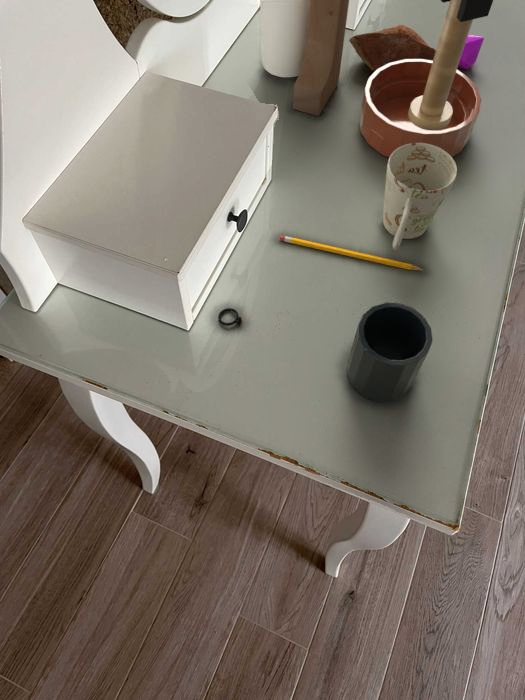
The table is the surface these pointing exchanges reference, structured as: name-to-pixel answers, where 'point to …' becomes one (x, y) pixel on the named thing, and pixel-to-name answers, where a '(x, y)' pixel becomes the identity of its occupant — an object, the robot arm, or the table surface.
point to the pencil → (349, 253)
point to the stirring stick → (441, 74)
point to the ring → (237, 320)
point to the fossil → (391, 46)
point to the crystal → (470, 51)
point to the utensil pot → (388, 351)
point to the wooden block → (321, 55)
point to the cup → (284, 35)
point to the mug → (415, 188)
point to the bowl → (394, 102)
